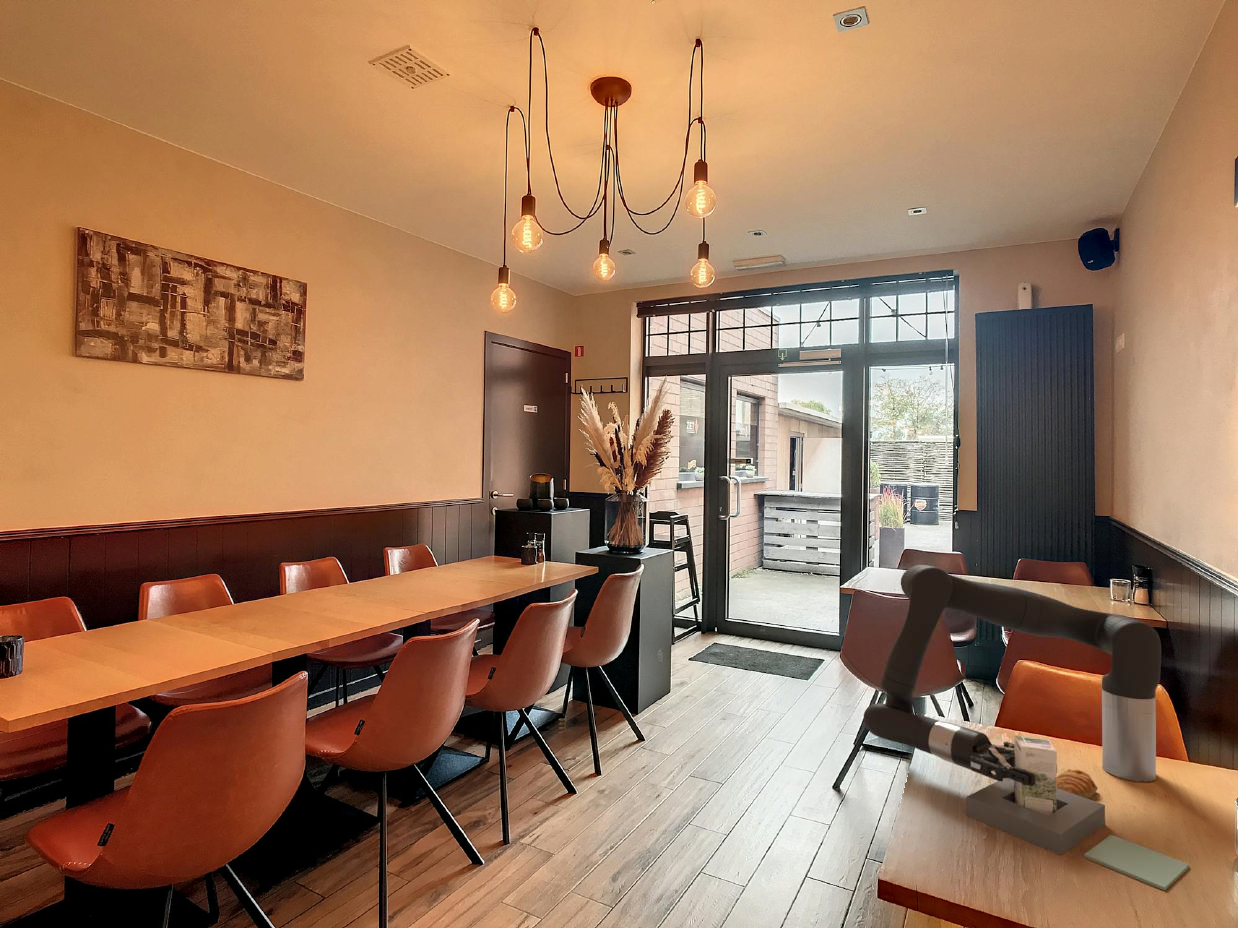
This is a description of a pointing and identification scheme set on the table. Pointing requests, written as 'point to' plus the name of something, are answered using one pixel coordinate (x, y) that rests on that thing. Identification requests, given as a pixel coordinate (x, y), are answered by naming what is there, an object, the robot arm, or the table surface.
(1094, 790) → the pastry
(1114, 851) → the sage mat
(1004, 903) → the table surface
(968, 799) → the socket block
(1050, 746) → the syrup box
